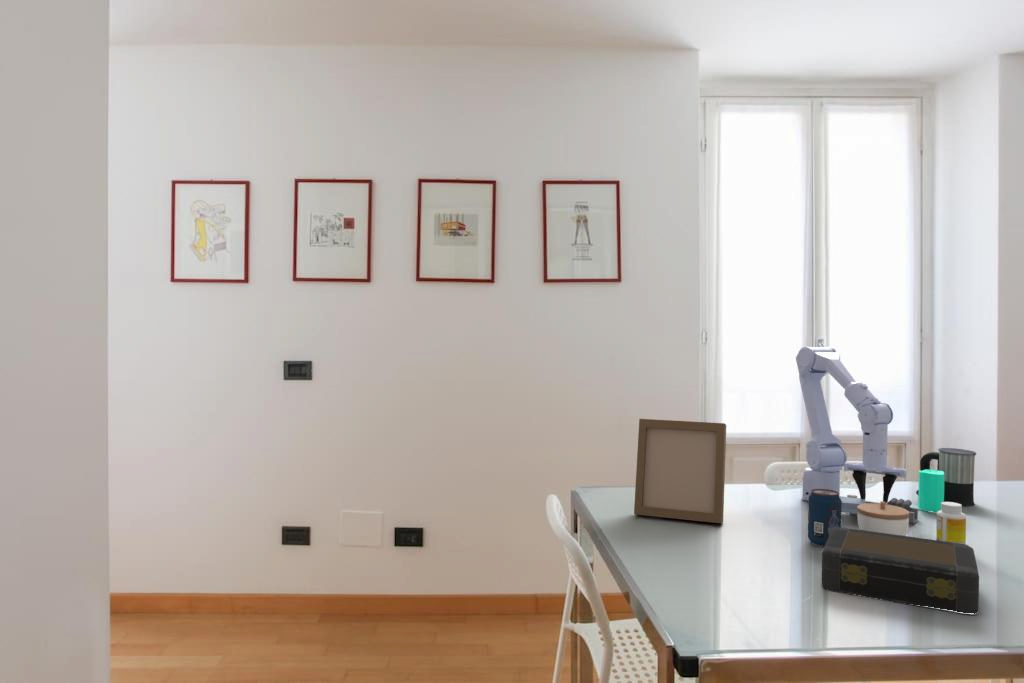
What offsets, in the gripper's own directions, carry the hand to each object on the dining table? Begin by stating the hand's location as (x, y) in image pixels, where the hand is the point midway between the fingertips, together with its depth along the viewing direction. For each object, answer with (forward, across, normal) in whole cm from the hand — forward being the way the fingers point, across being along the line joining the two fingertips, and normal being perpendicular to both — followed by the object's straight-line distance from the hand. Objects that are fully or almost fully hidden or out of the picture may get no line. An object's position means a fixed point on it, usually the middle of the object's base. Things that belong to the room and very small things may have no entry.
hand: (874, 501), depth 186 cm
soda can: (+4, -3, -34) cm, 34 cm away
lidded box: (+1, -4, -7) cm, 8 cm away
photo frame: (+4, -39, -32) cm, 51 cm away
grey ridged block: (+1, +6, 0) cm, 6 cm away
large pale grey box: (+4, +2, 0) cm, 4 cm away
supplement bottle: (+4, +20, -20) cm, 28 cm away
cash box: (+5, +15, -52) cm, 55 cm away
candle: (+4, +11, +17) cm, 20 cm away
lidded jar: (+4, +7, -24) cm, 25 cm away
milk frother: (+4, +12, +28) cm, 31 cm away
